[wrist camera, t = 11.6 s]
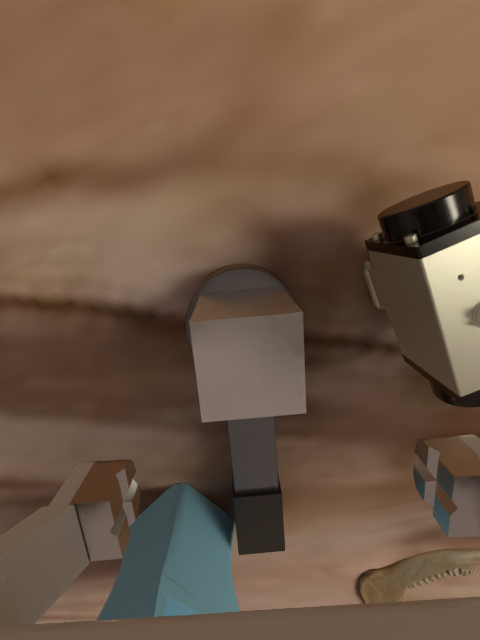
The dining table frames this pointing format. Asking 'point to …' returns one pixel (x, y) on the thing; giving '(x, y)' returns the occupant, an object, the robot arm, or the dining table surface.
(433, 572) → the jawbone
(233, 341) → the beige rectangular block
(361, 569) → the dining table surface
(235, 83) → the dining table surface
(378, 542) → the dining table surface
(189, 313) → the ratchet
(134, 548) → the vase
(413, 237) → the pneumatic valve
